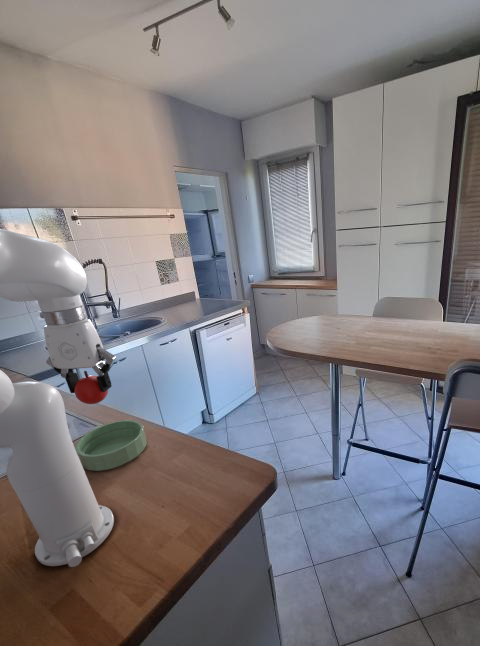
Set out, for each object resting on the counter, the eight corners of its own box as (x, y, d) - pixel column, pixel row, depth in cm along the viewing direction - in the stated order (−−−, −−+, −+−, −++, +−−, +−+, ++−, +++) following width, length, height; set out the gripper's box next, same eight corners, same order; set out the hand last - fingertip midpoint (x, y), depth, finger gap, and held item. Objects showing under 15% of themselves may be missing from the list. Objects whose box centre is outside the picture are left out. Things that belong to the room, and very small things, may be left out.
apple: (115, 401, 80) (104, 369, 77) (83, 412, 76) (70, 379, 72) (107, 393, 85) (97, 363, 81) (77, 403, 80) (65, 371, 77)
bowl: (156, 451, 85) (151, 435, 83) (90, 482, 76) (83, 465, 74) (136, 428, 96) (131, 414, 94) (76, 454, 86) (69, 438, 84)
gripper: (13, 323, 69) (45, 399, 76) (93, 318, 68) (118, 396, 75) (41, 314, 76) (67, 384, 83) (113, 310, 75) (134, 381, 82)
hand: (91, 389), depth 79 cm, fingers closed on apple, 6 cm apart
